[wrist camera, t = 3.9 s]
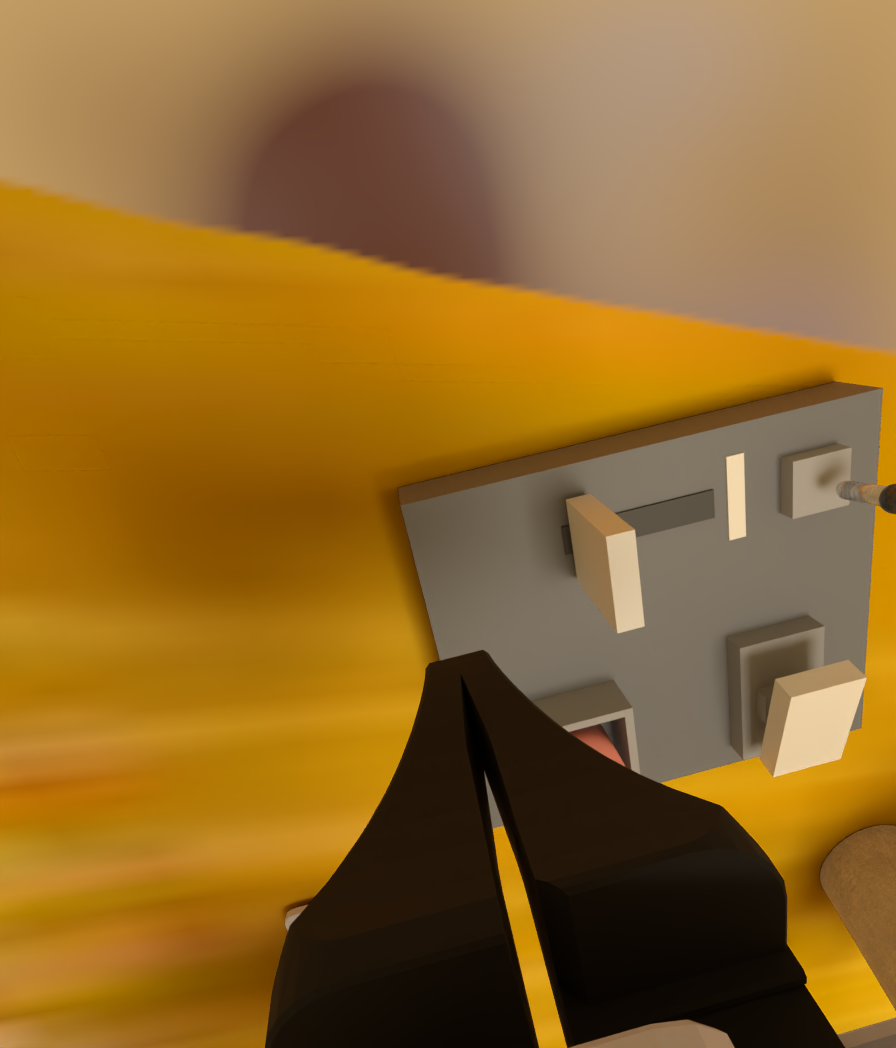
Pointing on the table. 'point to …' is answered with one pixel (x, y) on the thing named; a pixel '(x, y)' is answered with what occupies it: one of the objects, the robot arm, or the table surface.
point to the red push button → (598, 741)
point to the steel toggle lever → (869, 494)
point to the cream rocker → (811, 717)
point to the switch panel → (665, 572)
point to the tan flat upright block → (606, 561)
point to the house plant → (867, 897)
